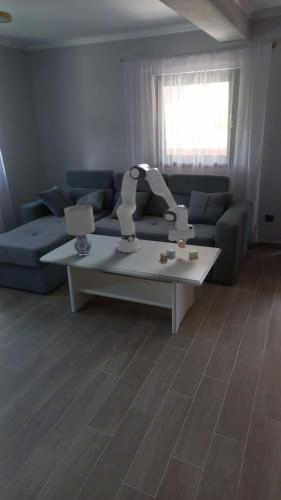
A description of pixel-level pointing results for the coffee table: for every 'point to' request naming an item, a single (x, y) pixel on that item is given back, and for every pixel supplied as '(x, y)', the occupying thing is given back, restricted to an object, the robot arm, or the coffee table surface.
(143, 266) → the coffee table surface
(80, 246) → the lamp
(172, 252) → the slate blue brick
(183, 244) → the terracotta brick
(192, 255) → the olive brick
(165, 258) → the walnut brick
